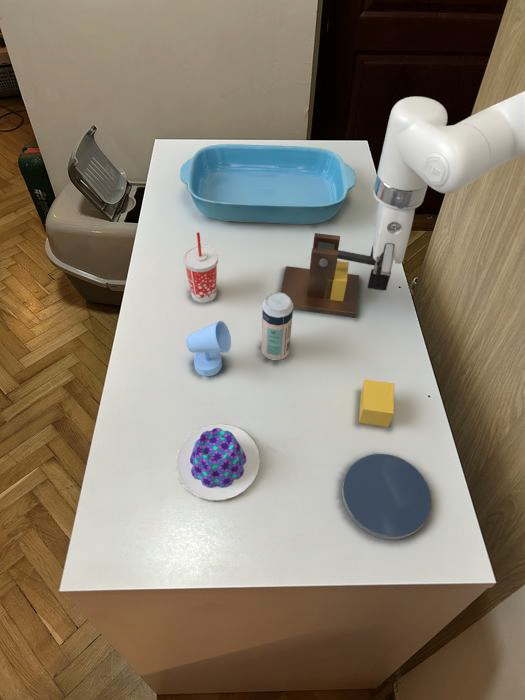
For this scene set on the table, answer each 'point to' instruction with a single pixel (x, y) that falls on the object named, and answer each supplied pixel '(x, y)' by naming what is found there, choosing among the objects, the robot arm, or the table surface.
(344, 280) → the butter
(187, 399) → the table surface
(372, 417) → the butter pat
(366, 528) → the plate
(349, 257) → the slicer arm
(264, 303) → the supplement bottle
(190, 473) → the pudding
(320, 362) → the table surface
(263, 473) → the table surface
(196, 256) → the beverage cup
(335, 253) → the slicer
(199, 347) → the spotlight
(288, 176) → the casserole dish
